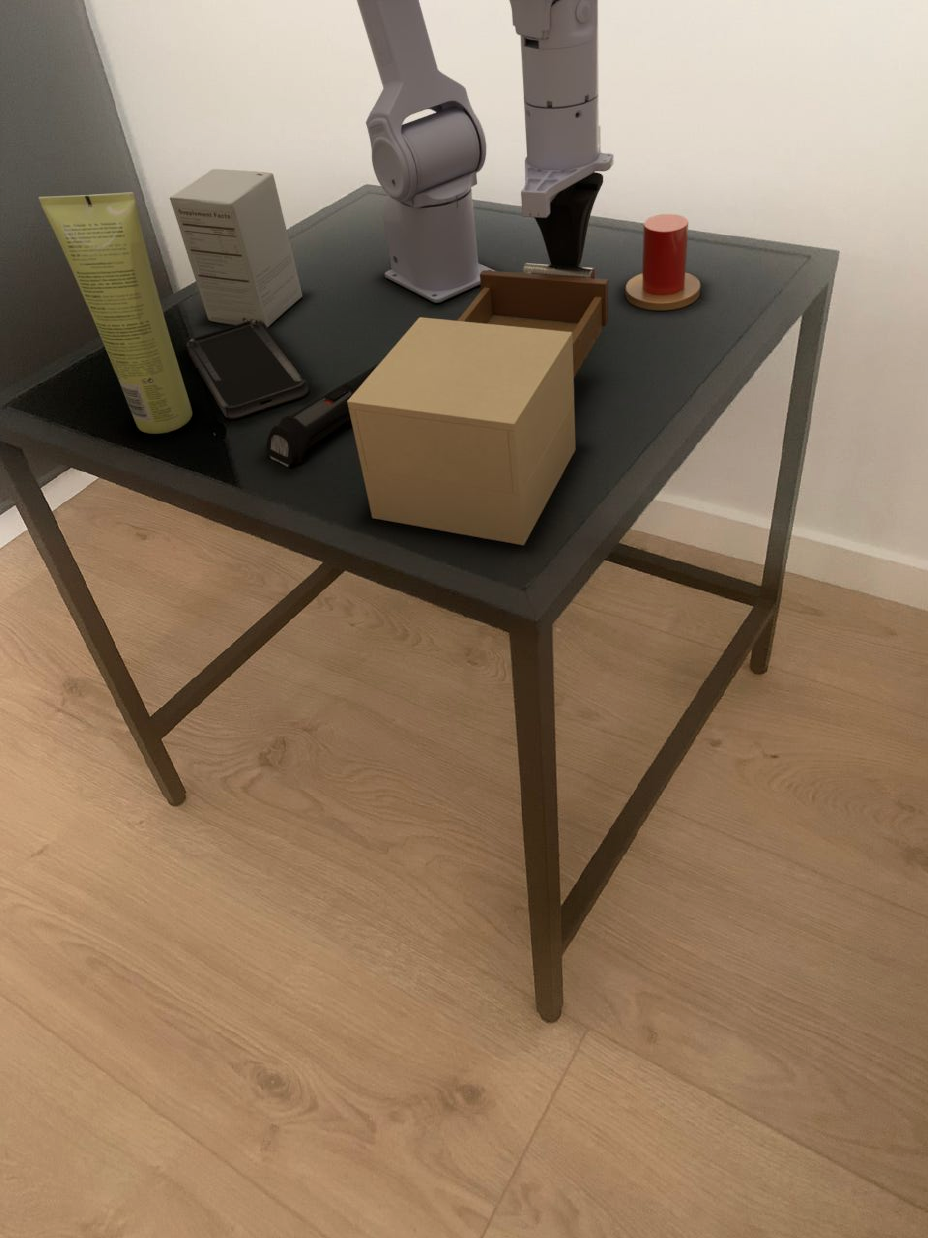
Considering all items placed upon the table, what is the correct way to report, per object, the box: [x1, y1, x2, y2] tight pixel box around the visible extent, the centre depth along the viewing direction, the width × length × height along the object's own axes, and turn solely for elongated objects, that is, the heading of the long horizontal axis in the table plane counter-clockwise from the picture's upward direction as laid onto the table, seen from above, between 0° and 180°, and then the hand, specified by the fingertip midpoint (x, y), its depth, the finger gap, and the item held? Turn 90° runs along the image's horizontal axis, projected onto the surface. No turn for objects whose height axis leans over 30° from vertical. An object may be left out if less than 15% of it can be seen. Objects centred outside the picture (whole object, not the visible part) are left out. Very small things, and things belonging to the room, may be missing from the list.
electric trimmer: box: [265, 361, 381, 468], centre depth 80 cm, size 4×16×3 cm, turn 138°
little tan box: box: [347, 316, 577, 546], centre depth 69 cm, size 12×12×10 cm
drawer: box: [456, 262, 609, 378], centre depth 77 cm, size 16×11×4 cm
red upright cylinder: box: [641, 213, 689, 295], centre depth 89 cm, size 4×4×6 cm
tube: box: [38, 191, 193, 435], centre depth 77 cm, size 6×5×20 cm
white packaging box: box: [169, 168, 303, 329], centre depth 94 cm, size 7×7×13 cm
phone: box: [185, 320, 309, 420], centre depth 88 cm, size 8×1×15 cm
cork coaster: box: [625, 271, 701, 312], centre depth 91 cm, size 7×7×1 cm
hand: (566, 268), depth 82 cm, fingers closed
